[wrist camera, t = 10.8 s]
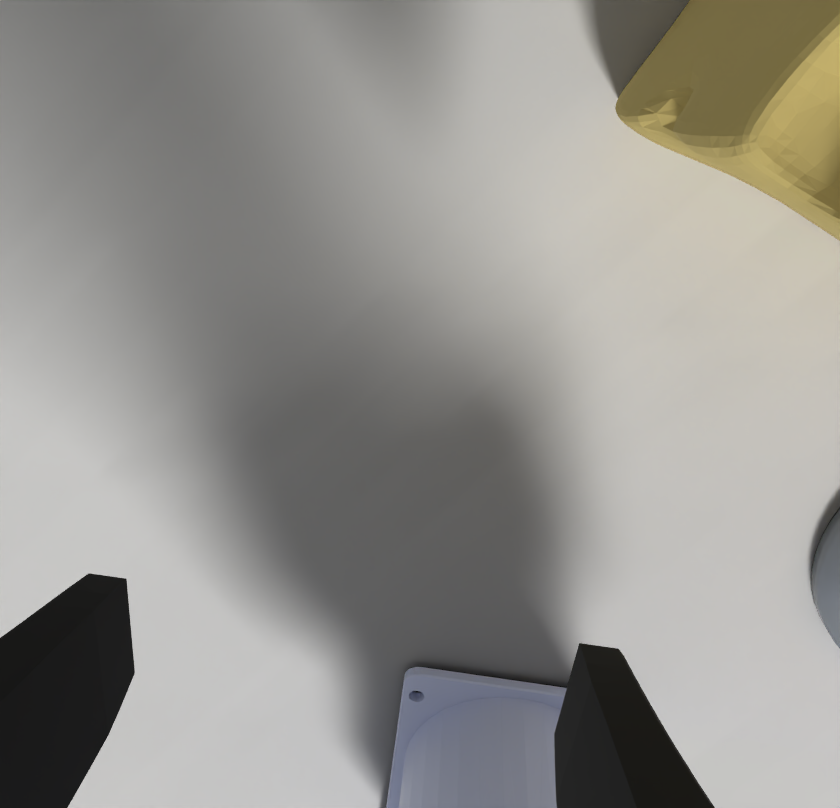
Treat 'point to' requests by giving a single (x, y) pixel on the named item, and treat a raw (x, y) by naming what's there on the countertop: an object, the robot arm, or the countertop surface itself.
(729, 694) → the countertop surface
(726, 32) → the cheese
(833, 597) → the coaster
